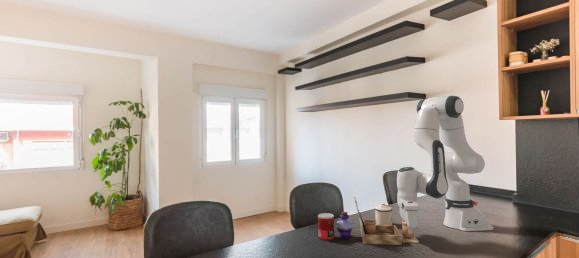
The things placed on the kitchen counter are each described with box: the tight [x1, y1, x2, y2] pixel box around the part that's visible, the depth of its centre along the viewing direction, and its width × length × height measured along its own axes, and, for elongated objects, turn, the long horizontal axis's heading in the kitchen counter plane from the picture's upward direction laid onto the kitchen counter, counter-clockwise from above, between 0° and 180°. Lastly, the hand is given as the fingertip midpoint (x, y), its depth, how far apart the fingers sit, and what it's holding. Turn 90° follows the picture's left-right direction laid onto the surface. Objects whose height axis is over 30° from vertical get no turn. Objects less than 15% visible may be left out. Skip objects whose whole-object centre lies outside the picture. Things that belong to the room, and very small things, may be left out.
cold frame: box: [352, 193, 403, 246], centre depth 139 cm, size 20×15×20 cm
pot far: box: [363, 218, 376, 235], centre depth 143 cm, size 6×6×7 cm
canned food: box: [317, 212, 336, 241], centre depth 141 cm, size 8×8×11 cm
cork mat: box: [400, 233, 420, 244], centre depth 137 cm, size 7×10×1 cm
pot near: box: [401, 219, 415, 237], centre depth 137 cm, size 6×6×7 cm
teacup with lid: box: [374, 202, 393, 225], centre depth 160 cm, size 12×9×12 cm
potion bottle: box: [335, 211, 354, 240], centre depth 142 cm, size 9×9×12 cm
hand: (408, 231), depth 137 cm, fingers closed on pot near, 5 cm apart
